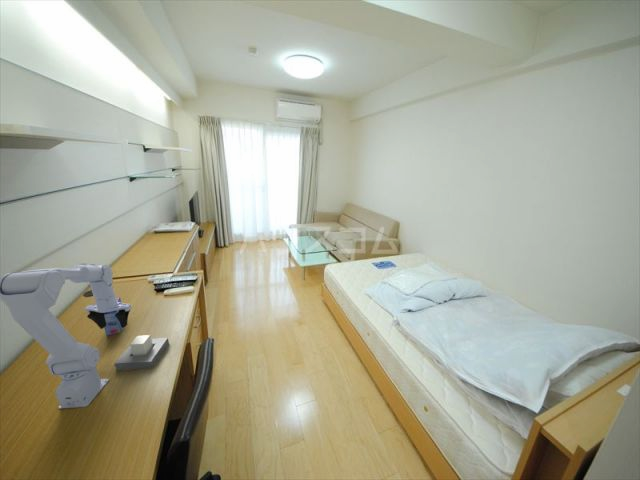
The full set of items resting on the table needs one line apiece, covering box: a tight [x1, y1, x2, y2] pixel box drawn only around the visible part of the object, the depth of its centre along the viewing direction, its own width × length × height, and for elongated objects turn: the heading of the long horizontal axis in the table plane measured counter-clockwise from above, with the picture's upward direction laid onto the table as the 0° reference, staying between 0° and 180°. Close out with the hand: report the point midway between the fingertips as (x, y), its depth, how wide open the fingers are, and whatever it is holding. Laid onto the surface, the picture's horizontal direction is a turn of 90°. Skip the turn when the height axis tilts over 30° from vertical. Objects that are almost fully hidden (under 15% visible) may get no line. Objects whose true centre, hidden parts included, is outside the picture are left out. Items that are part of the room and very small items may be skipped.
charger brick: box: [129, 334, 153, 356], centre depth 91 cm, size 5×4×7 cm
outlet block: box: [114, 337, 170, 371], centre depth 91 cm, size 12×12×3 cm
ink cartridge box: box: [103, 297, 124, 336], centre depth 104 cm, size 10×6×14 cm, turn 29°
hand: (114, 326), depth 93 cm, fingers open, 7 cm apart
